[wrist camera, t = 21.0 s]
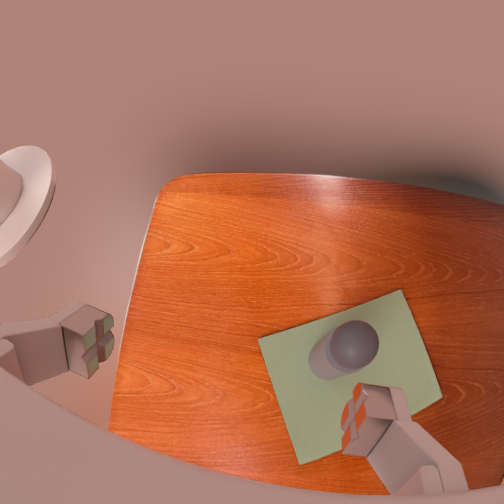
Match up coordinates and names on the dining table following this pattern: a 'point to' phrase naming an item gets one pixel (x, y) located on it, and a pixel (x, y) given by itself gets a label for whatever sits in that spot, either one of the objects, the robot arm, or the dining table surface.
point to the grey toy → (344, 350)
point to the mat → (341, 389)
